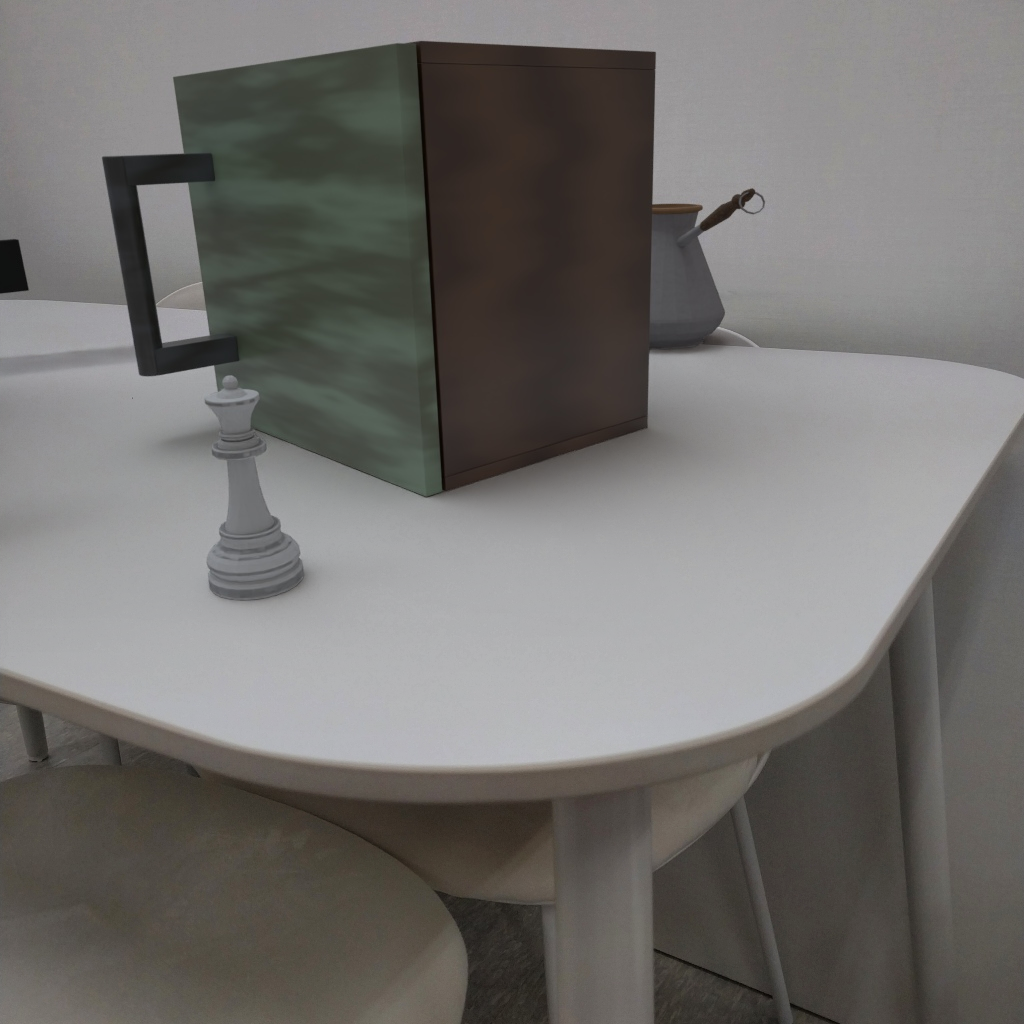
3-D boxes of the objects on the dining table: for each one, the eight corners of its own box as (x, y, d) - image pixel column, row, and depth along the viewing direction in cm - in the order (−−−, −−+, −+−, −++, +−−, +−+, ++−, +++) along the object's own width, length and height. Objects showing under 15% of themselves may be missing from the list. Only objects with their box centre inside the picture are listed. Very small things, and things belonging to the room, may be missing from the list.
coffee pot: (589, 335, 100) (589, 182, 94) (690, 326, 103) (695, 177, 97) (683, 381, 81) (690, 191, 75) (803, 368, 84) (818, 185, 78)
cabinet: (446, 493, 57) (420, 40, 48) (238, 413, 75) (192, 74, 66) (647, 429, 68) (656, 51, 59) (424, 373, 86) (405, 78, 77)
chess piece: (306, 559, 48) (283, 361, 45) (302, 597, 44) (276, 383, 41) (216, 567, 48) (185, 367, 44) (203, 606, 44) (168, 390, 40)
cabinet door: (322, 529, 52) (269, 37, 43) (132, 434, 70) (68, 75, 61) (442, 492, 57) (416, 43, 48) (235, 412, 75) (189, 77, 66)
